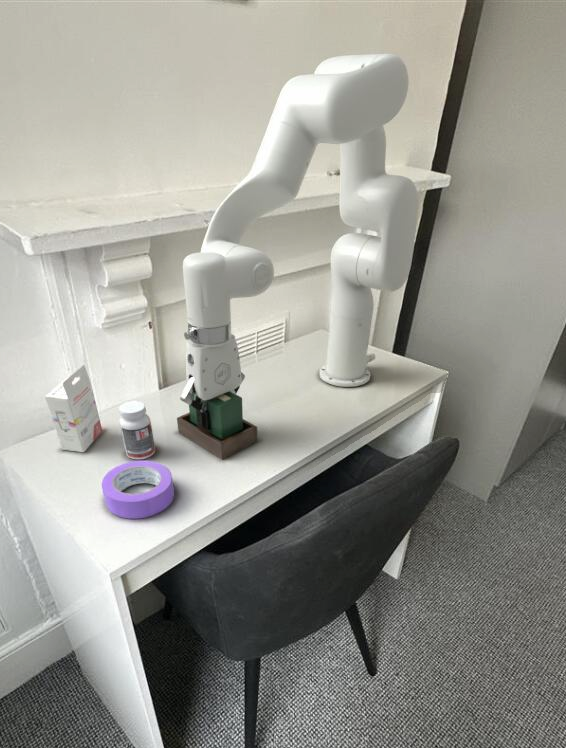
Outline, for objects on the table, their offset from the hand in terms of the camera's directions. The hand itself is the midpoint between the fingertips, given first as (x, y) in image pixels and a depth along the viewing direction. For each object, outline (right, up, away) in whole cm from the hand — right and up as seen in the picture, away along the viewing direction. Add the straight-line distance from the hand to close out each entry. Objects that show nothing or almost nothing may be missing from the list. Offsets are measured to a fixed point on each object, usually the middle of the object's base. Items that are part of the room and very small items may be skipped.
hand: (216, 421), depth 99 cm
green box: (0, -1, +1) cm, 1 cm away
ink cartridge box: (-27, -4, +1) cm, 28 cm away
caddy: (0, -3, +2) cm, 4 cm away
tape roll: (-12, -16, -13) cm, 24 cm away
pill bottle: (-15, -7, -2) cm, 16 cm away
